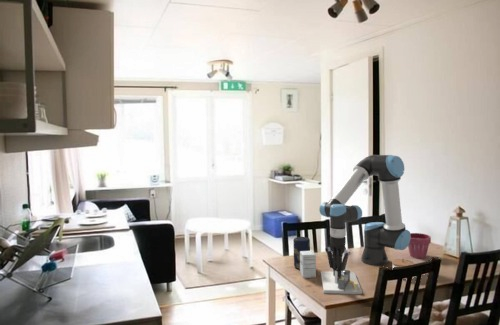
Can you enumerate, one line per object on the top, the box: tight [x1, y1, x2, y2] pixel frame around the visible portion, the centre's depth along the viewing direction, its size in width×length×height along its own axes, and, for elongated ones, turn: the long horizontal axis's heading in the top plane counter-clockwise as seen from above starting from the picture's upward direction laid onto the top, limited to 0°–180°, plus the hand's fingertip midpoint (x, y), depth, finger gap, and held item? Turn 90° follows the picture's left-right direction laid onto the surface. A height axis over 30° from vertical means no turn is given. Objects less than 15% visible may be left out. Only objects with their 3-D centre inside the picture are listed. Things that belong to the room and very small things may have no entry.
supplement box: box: [299, 250, 317, 279], centre depth 216 cm, size 7×7×13 cm
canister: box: [293, 236, 311, 270], centre depth 229 cm, size 10×10×18 cm
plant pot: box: [407, 232, 432, 259], centre depth 244 cm, size 14×14×13 cm
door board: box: [320, 270, 363, 295], centre depth 203 cm, size 18×26×4 cm
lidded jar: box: [391, 258, 415, 269], centre depth 211 cm, size 11×11×9 cm
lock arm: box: [338, 269, 351, 289], centre depth 198 cm, size 14×4×5 cm, turn 155°
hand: (337, 282), depth 196 cm, fingers closed
